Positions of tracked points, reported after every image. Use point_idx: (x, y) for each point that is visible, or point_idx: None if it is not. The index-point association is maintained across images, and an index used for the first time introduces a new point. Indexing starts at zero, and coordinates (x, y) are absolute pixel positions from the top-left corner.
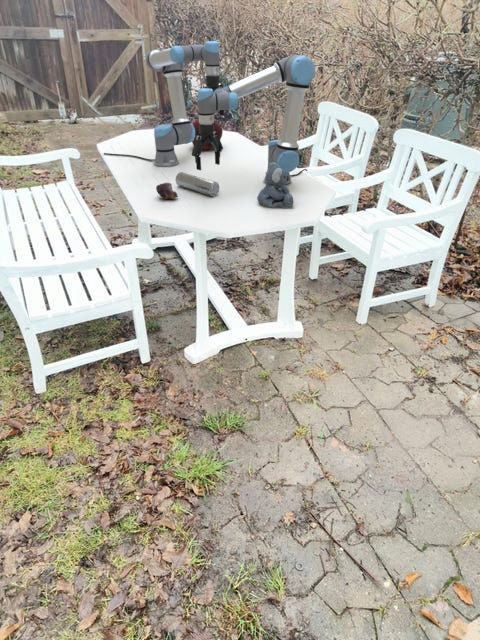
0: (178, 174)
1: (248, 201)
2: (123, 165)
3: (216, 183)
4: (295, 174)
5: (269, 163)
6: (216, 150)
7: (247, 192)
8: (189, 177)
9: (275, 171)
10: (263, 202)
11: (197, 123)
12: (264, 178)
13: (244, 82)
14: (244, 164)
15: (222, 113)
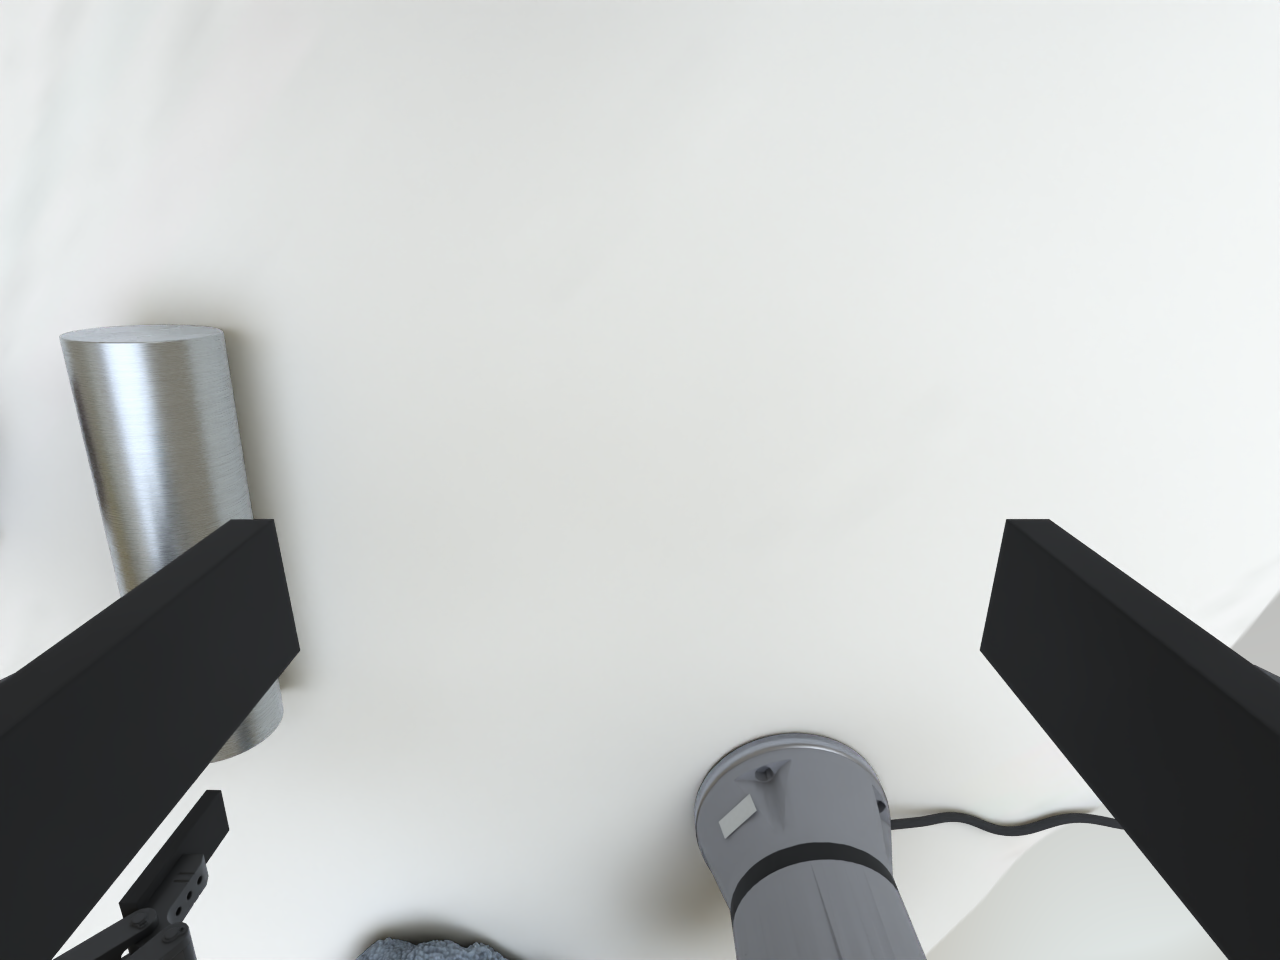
0: (67, 356)
1: (359, 879)
2: None
3: (224, 754)
4: (988, 830)
5: (742, 920)
6: (133, 919)
7: (476, 790)
8: (106, 514)
9: None
10: None
11: None
12: (744, 759)
13: None
14: (1081, 329)
15: (1012, 665)
